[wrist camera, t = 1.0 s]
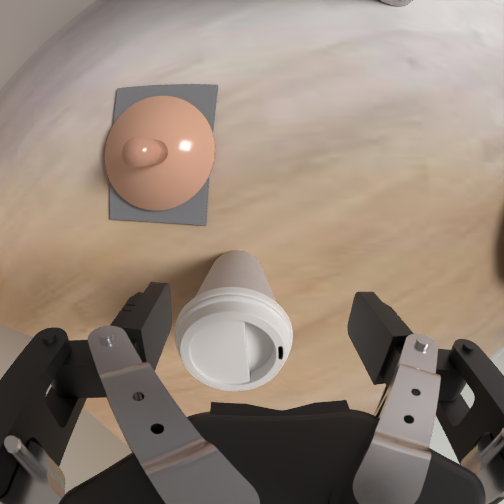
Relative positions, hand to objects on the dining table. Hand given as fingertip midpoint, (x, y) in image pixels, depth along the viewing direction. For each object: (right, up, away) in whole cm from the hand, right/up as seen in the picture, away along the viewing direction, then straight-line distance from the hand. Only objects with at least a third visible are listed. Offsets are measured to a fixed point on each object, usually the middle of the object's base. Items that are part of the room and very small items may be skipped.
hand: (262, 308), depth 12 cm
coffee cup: (-2, 0, +23) cm, 23 cm away
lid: (-11, +13, +17) cm, 24 cm away
